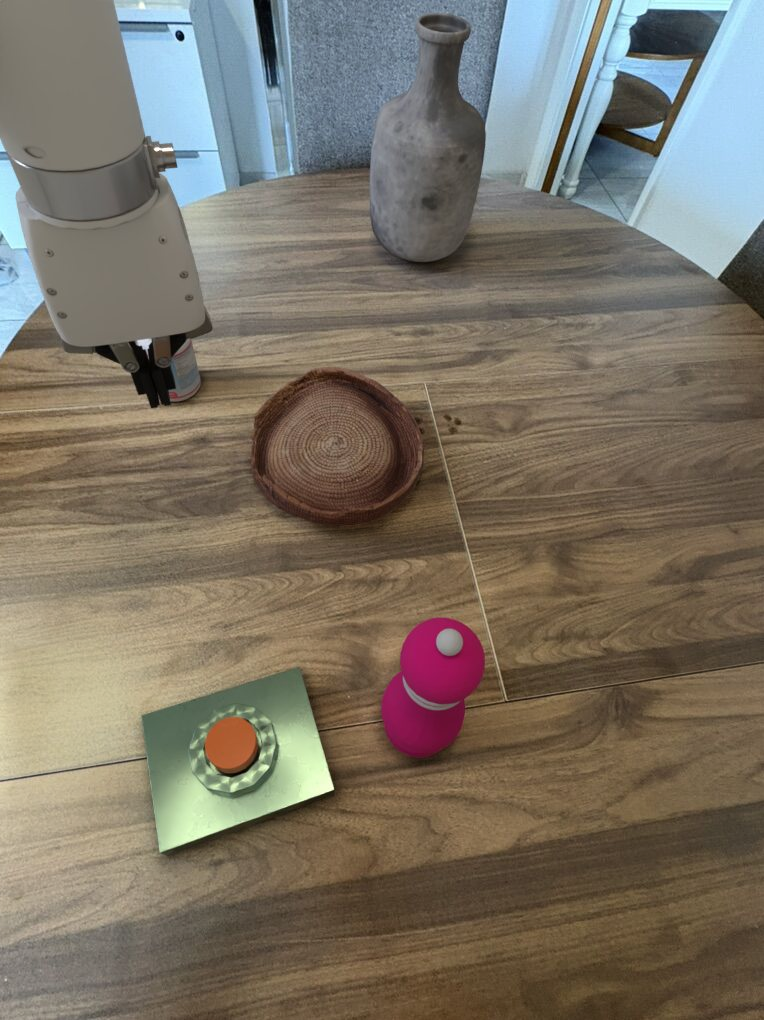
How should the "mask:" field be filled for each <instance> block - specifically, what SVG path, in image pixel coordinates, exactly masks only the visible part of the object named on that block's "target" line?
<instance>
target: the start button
mask: <svg viewBox="0 0 764 1020" xmlns="http://www.w3.org/2000/svg"><path fill="white" fill-rule="evenodd" d="M205 751H206V755H207V757H208V759H209V760H210V762H211V763H212V764H213V766H214V767H215V768H216V769H218V770H219V771H221V772H224V773H237V772H240V771H242V770H244V769H245V768H247V767H248V766H249V765H250V764H251V763H252V762H253V760H254V758H255V756H256V754H257V751H258V739H257V736H256V733H255V731H254V729H253V727H252V726H251V724H250V723H249V722H247V721H246V720H244V719H242V718H239V717H228V718H225V719H222V720H220V721H219V722H217V723H216V724H215V725H214V726H213V727H212V728H211V729H210V731H209V733H208V735H207V737H206V741H205Z"/></svg>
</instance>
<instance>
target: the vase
mask: <svg viewBox="0 0 764 1020" xmlns="http://www.w3.org/2000/svg"><path fill="white" fill-rule="evenodd" d="M414 31H415V35H417V37H418V49H417V51H418V52H417V63H416V71H415V75H414V79H413V81H412V84H411V85H410V87H409V88H408V89H407V90H406V92H404V93H400V94H398V95H395V96H393V97H391V98H390V99H389V100H387V101H386V102H385V103H384V105H382V107H381V108H380V109H379V112H378V114H377V116H376V119H375V123H374V127H373V132H372V141H371V142H372V143H371V151H370V164H369V218H370V223H371V224H370V225H371V228H372V233H373V235H374V237H375V239H376V241H377V243H378V244H379V245H380V246H381V247H382V248H383V249H384V250H385V251H387V252H388V253H390V254H391V255H392V256H395V257H398V258H400V259H402V260H405V261H410V262H414V263H415V262H416V263H428V262H435V261H438V260H441V259H444V258H445V257H446V258H447V257H448V256H450V255H451V254H453V253H454V252H456V250H457V249H458V248H459V247H460V246H461V244H462V242H463V241H464V238H465V237H466V236H467V232H468V230H469V226H470V224H471V220H472V217H473V212H474V209H475V205H476V201H477V197H478V191H479V186H480V183H481V178H482V172H483V166H484V159H485V150H486V140H487V133H486V132H487V131H486V125H485V121H484V118H483V116H482V114H481V113H480V112H479V111H478V109H477V108H476V107H475V106H474V105H473V104H471V103H470V102H468V101H467V100H465V99H464V98H463V96H462V94H461V91H460V88H459V73H460V66H461V60H462V55H463V50H464V46H465V42H466V41H468V40H469V39H470V36H471V31H472V25H471V24H470V22H469V21H468V20H467V19H465V18H463V17H460V16H458V15H455V14H451V13H444V12H430V13H425V14H421V15H420V16H419V15H418V17H417V18H416V20H415V24H414Z"/></svg>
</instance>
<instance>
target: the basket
mask: <svg viewBox="0 0 764 1020" xmlns="http://www.w3.org/2000/svg"><path fill="white" fill-rule="evenodd" d="M253 418H254V422H253V432H252V436H251V440H252V444H251V452H250V453H251V454H250V455H251V456H250V467H251V473H252V479H253V481H254V483H255V485H256V487H257V489H258V490H259V491H260V493H261V495H262V496H263V497H264V498H265V499H266V500H267V501H268V502H269V503H271V504H272V505H273V506H274V507H276V508H277V509H279V510H281V511H283V512H285V513H287V514H288V515H290V516H292V517H296V518H299V519H302V520H304V521H307V522H309V523H313V524H316V525H322V526H327V527H328V526H329V527H336V528H337V527H338V528H339V527H355V526H359V525H365V524H368V523H369V524H370V523H372V522H374V521H376V520H380V519H381V518H383V517H386V516H388V515H389V514H390V513H392V512H393V511H394V510H395V509H397V508H398V507H399V506H400V505H401V504H402V503H403V502H404V501H405V500H406V499H407V498H408V497H409V496H410V495H411V494H412V492H413V491H414V489H415V488H416V485H417V483H418V482H419V479H420V477H421V475H422V473H423V467H424V463H425V447H424V441H423V435H422V432H421V430H420V426H419V424H418V421H417V420H416V418H415V417H414V415H413V414H412V412H411V411H410V410H409V409H408V408H407V406H406V405H405V404H404V403H403V401H402V400H401V399H399V398H398V397H396V396H395V395H393V393H392V392H391V391H390V390H389V389H387V387H385V386H383V384H381V383H380V382H378V381H377V380H374V378H373V379H372V378H370V377H368V376H366V375H364V374H361V373H359V372H356V371H353V370H351V369H348V368H344V367H338V366H321V367H319V366H318V367H313V368H311V369H310V370H308V371H307V372H306V373H304V374H303V375H302V376H297V378H295V379H294V380H291V381H288V382H287V383H285V385H283V386H282V387H280V388H279V389H278V390H276V392H274V393H272V394H271V395H270V396H269V397H268V398H267V399H266V400H265V401H264V402H263V403H262V404H261V406H260V407H259V408H258V409H257V411H256V412H255V414H254V416H253Z"/></svg>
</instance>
